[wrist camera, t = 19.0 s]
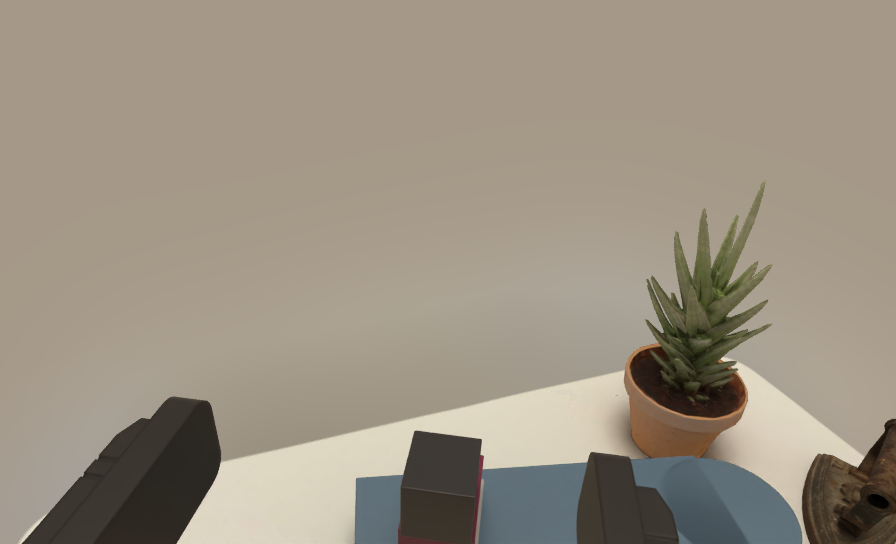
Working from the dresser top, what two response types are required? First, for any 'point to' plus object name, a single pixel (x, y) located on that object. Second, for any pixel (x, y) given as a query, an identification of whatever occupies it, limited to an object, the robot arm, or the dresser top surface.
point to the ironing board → (557, 495)
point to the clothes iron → (853, 496)
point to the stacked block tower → (441, 490)
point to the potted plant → (694, 351)
